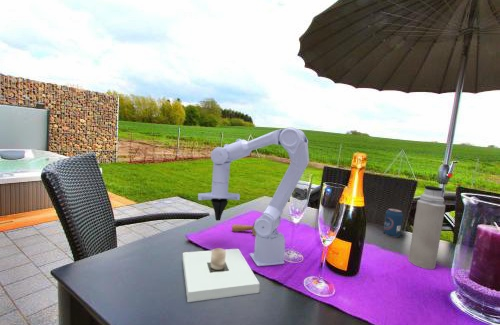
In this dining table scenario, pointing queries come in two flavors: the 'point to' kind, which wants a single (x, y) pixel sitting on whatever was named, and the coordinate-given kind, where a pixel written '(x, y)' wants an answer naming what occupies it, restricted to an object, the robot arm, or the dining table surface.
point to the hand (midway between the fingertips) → (217, 219)
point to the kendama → (243, 228)
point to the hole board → (217, 276)
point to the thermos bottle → (427, 228)
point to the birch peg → (218, 260)
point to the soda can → (393, 222)
